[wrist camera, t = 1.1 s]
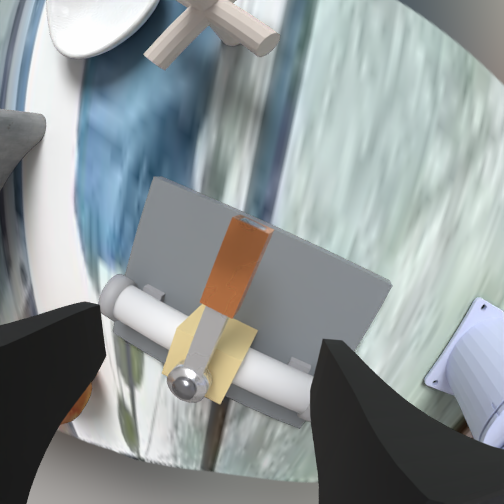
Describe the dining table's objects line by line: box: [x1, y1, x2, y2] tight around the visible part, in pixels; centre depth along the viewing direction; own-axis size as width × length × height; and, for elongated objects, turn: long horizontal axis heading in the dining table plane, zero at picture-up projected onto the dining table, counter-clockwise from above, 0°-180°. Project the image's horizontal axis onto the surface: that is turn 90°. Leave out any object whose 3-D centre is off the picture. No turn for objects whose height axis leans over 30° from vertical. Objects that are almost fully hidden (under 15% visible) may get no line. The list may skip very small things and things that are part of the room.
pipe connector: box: [144, 0, 280, 70], centre depth 15 cm, size 10×10×10 cm
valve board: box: [98, 177, 392, 429], centre depth 21 cm, size 18×14×6 cm
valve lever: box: [167, 214, 274, 403], centre depth 16 cm, size 11×2×2 cm, turn 157°
